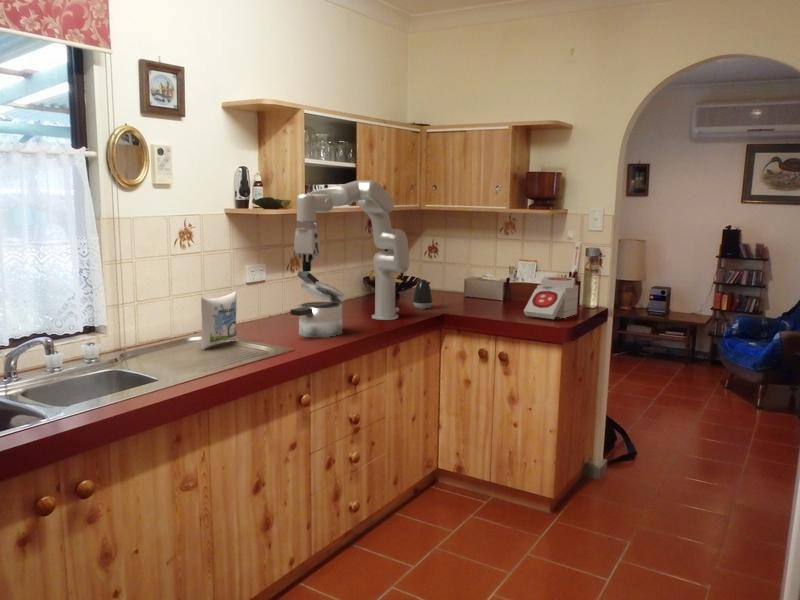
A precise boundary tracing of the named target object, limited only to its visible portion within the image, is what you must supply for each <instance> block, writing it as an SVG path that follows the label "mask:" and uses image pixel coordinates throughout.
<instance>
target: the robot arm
mask: <svg viewBox="0 0 800 600" xmlns="http://www.w3.org/2000/svg"><path fill="white" fill-rule="evenodd" d="M355 202H357V203H358V204H357V205H358V207H359V209H360V210H361V211H363V212H364V213H365V214H367V215H368V217H369V219H370V221H371V227H372V233H373V234H372V236H373V243H374V245H375V247H376V248H378V249H380V251H378V252H376V253H375V254H374V255H373V259H372V263H373V265H372V266H373V270H374V277H375V278H374V280H375V281H374V282H375V286H374V288H375V289H374V291H375V294H374V300H375V301H374V306H375V307H374V314H371V319H373V320H378V321H394V320H397V319H399V314H397V313H398V312H400V308H399V307H396V278H395V275H394V274H393V273H397V274H403V273H406V272H407V271H408V269H409V267H410V254H409V253H410V252H409V243H408V242H409V241H408V237H407V233H405V231H404V230H402V229H399V228H398V229H397V228H392V226H391V225H392V224H391V219H390V215H389V213H391V212H392V211H393V210H394V205H395V203H394V202H395V201H394V199H393V197H392V195H391V194H390V193H389V192H388V191H387V190H386V189H385V188H384V187H383V186H381V184H379V182H376V181H375V180H372V179H371V180H366V179H365V180H364V179H362V180H359V179H358V180H354V181H350V182H347V183H344V184H341V185H338V186H332V187H327V188H323V189H318V190H314V191H310V192H308V193H304V194H303V193H302V194H301V193H300V194H298V195H297V196H296V228H295V232H294V243H293V244H294V252H295V256H296V257H299V259H300V261H301V262H302V271H304V272H311V271H312V270H311V269H312V262H313V260H314V258H315V259H316V258H318V257H319V253H321V245H320V244H321V243H320V242H321V241H320V234H319V230H318V228H317V227H318V222H317V220H316V219H317V216H316V215H317V214H319V213H322V214H325V213H329V212H330V211H332V210H333V208H334V207H344V206H347V205H349V204H353V203H355ZM382 250H384V251H382ZM387 250H389V251H387ZM392 250H393V251H392Z"/></svg>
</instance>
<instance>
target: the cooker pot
mask: <svg viewBox="0 0 800 600" xmlns="http://www.w3.org/2000/svg"><path fill="white" fill-rule="evenodd" d="M289 311H290V316H298V334H299V336H302V337H307V338H318V337H321V338H331V337H330V336H333V337H337V336H336V335H338V336H341V335H342V334H343V304H342V302H340V303H338V302H330V301H311V302H310V301H309V302H303V303H300V304H298V307H297V308H293V309H292V308H291V309H290V310H289ZM340 334H341V335H340Z"/></svg>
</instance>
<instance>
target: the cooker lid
mask: <svg viewBox="0 0 800 600" xmlns="http://www.w3.org/2000/svg"><path fill="white" fill-rule="evenodd" d="M296 276H297V277H298V278H300V279H301V280H302V281H301V283H300V288H302V290H303V291H305V292H306V293H308V294H309V295H311V296H314V297H316V298H317V299H320V300H325V301H326V302H335V303H342V302H344V301H345V299H346V297H345V294H344V292H342V291H341V290H339V289H338V288H336V287H335V286H331V285H329V284H328V283H327V284H326V283H324V282H321V281H320V280H319V279H318V278H317V277H315V276H314V275H313V274H312V273H311V272H310V271H308V272H304V271H303V270H298V271H297V274H296Z"/></svg>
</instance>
